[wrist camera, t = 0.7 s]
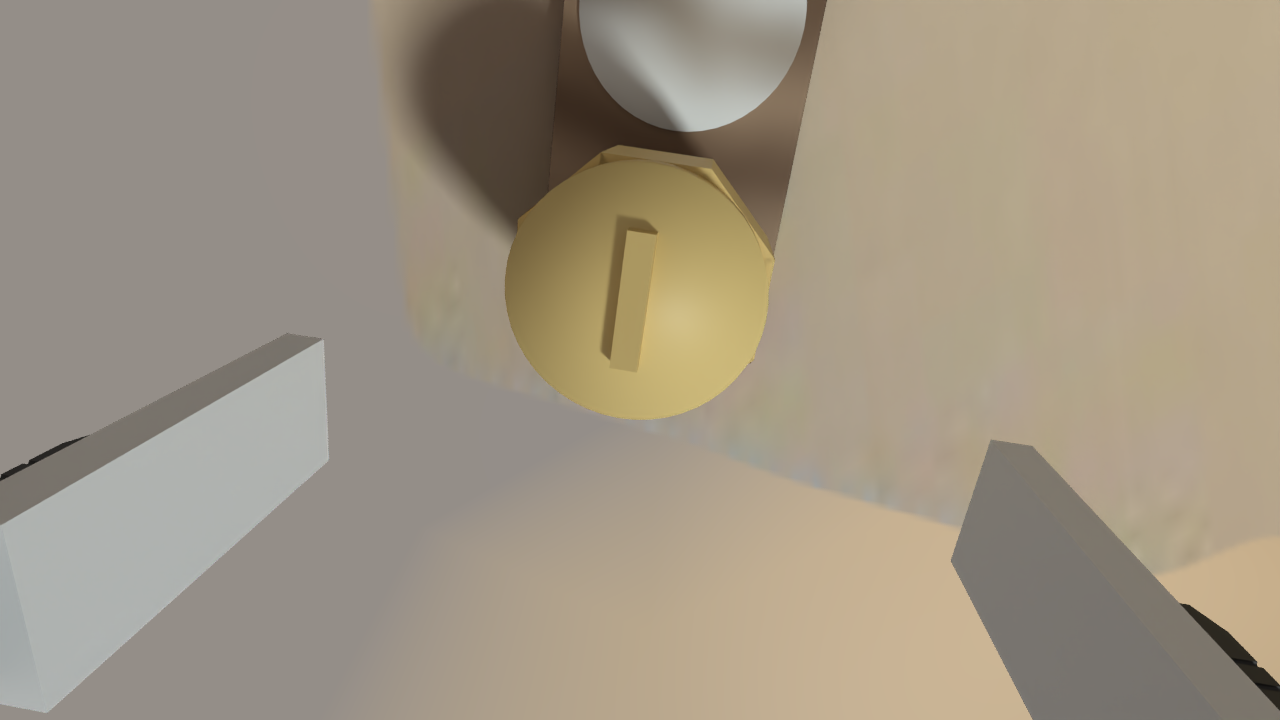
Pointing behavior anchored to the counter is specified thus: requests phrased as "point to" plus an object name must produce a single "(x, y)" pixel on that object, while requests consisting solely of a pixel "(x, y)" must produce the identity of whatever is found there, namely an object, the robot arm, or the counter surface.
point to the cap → (639, 284)
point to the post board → (689, 87)
